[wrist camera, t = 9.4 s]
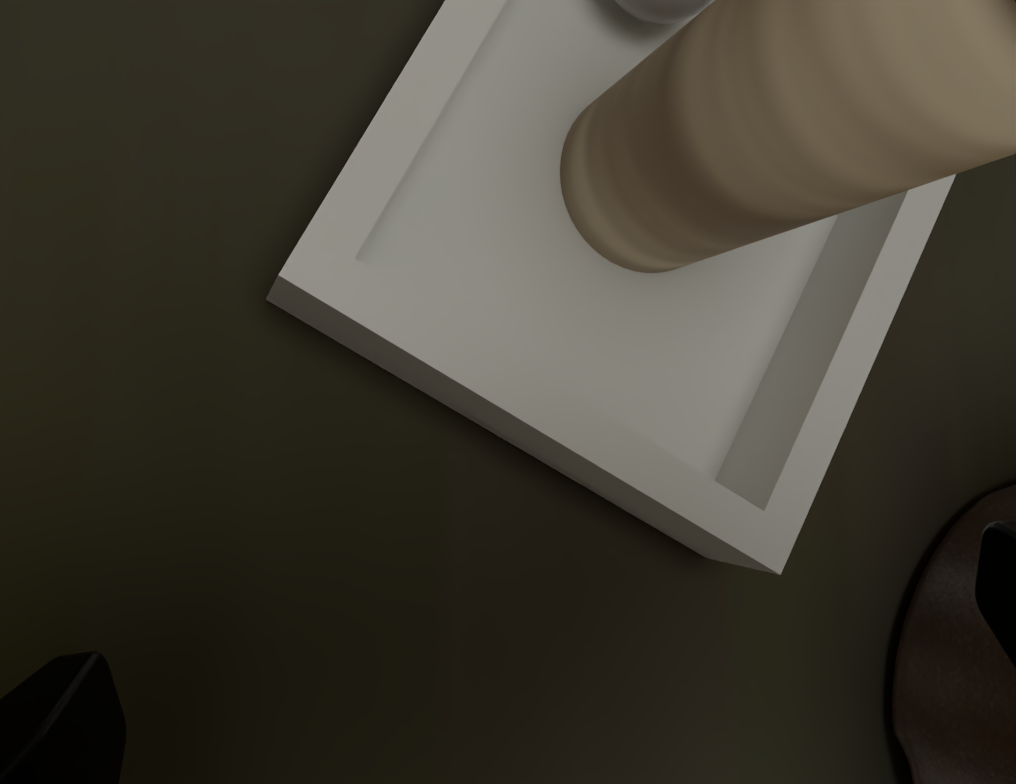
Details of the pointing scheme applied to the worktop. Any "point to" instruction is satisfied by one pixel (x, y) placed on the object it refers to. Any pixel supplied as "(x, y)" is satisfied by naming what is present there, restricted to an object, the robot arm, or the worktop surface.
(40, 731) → the robot arm
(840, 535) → the worktop surface
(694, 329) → the bin
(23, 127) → the worktop surface
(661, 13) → the pebble
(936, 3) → the pepper mill
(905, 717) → the plant pot
